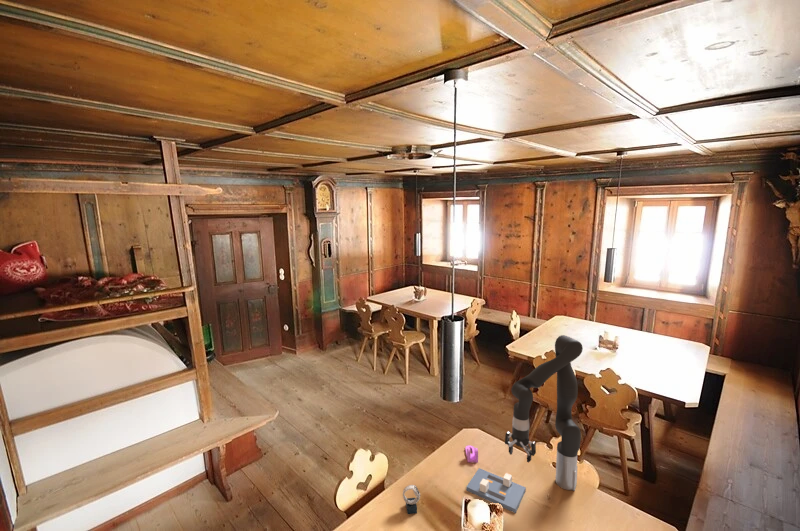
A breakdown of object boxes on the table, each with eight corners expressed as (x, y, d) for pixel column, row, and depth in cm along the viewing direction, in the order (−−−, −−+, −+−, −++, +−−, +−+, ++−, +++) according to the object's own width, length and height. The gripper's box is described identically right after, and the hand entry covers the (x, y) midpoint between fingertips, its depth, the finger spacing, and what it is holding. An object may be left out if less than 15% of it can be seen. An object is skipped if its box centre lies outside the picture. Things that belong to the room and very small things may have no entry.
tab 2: (511, 482, 172) (511, 475, 171) (509, 487, 168) (509, 480, 168) (505, 480, 173) (505, 472, 173) (503, 484, 170) (503, 477, 170)
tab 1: (488, 488, 168) (488, 480, 168) (485, 493, 165) (485, 485, 164) (482, 485, 170) (483, 478, 169) (479, 490, 167) (479, 483, 166)
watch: (421, 512, 157) (421, 490, 156) (403, 514, 156) (403, 492, 154) (419, 503, 162) (418, 481, 161) (402, 504, 161) (401, 483, 160)
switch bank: (525, 491, 169) (525, 487, 169) (515, 513, 156) (515, 509, 156) (479, 471, 183) (479, 467, 182) (466, 490, 170) (466, 486, 169)
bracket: (478, 462, 190) (478, 450, 189) (467, 462, 190) (467, 450, 189) (474, 447, 203) (474, 436, 202) (464, 447, 203) (464, 436, 202)
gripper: (538, 427, 162) (537, 460, 164) (509, 417, 172) (508, 447, 173) (532, 435, 157) (531, 468, 158) (503, 423, 166) (502, 454, 168)
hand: (519, 457), depth 166 cm, fingers open, 8 cm apart
